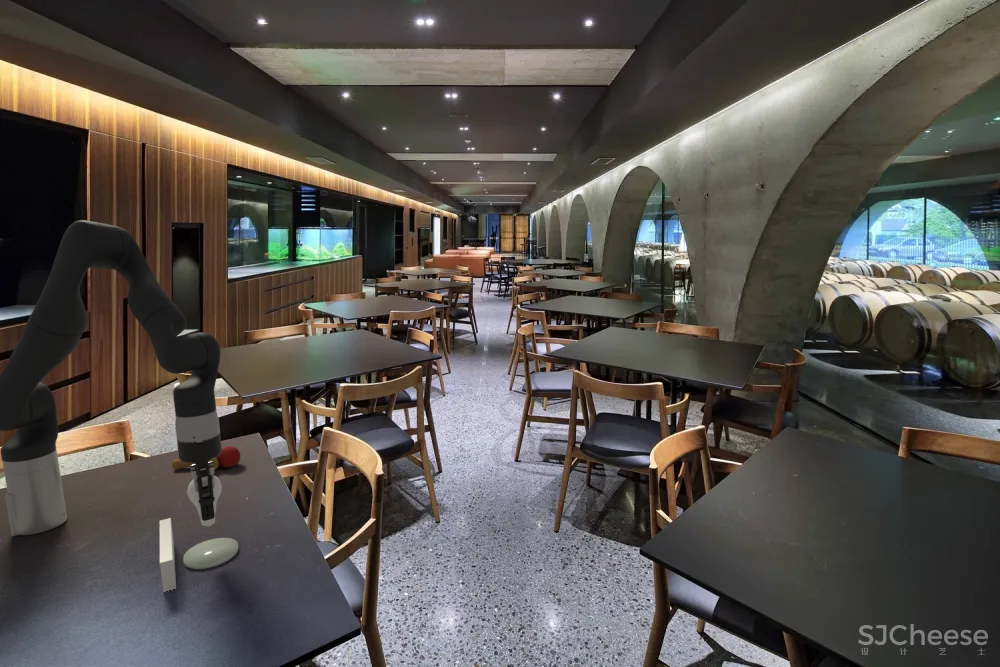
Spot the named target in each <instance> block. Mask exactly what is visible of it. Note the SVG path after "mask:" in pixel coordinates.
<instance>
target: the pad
mask: <svg viewBox="0 0 1000 667" xmlns="http://www.w3.org/2000/svg"><path fill="white" fill-rule="evenodd" d="M238 551H239V543H238V541H237V540H236V539H234V538H230V537H218V538H217V537H216V538H212V539H208V540H204V541H202V542H199V543H197V544H195V545H194V546H191V547H190V548H189V549H188V550H187V551H186V552H185V553H184V555H183V565H184V567H186V568H188V569H191V570H205V569H209V568H214V567H217V566H220V565H222V564H224V563H226V562H228V561H230V560H231V559H233V558H234V557H235V556H236V555H237V553H238Z"/></svg>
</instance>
